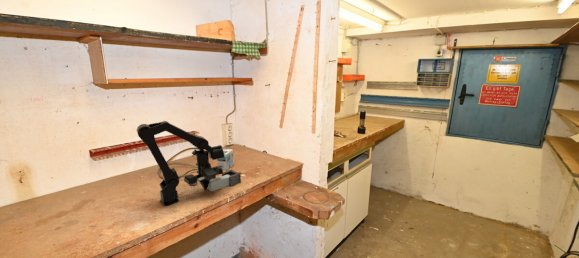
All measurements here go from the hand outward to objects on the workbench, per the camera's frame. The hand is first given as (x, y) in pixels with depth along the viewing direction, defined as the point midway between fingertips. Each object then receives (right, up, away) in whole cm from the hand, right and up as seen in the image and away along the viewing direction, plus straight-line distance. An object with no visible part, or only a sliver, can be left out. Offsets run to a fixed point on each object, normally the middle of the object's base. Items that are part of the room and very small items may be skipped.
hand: (205, 190), depth 132 cm
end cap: (+10, +1, +11) cm, 15 cm away
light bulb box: (+2, +7, +34) cm, 35 cm away
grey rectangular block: (+6, 0, +7) cm, 9 cm away
